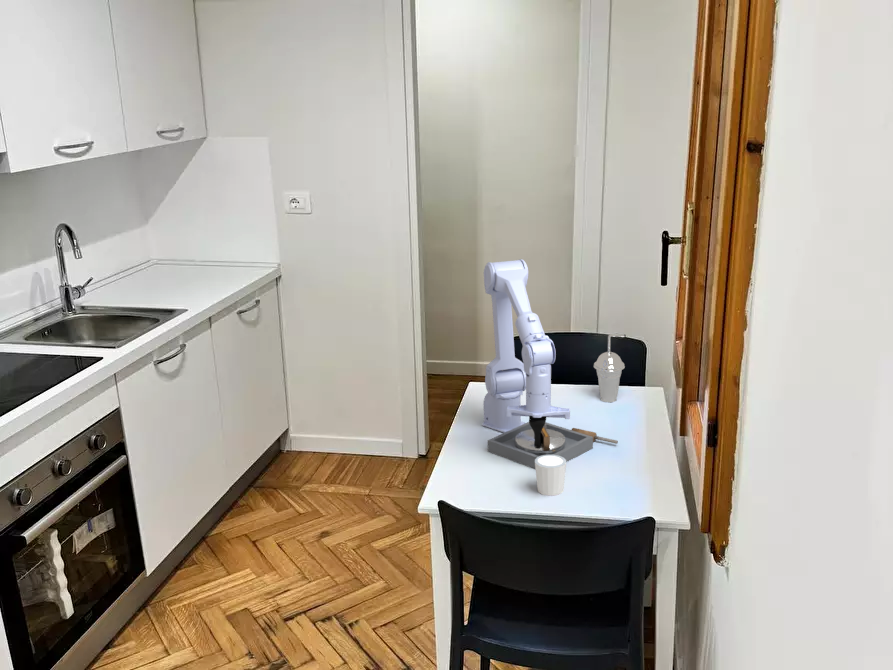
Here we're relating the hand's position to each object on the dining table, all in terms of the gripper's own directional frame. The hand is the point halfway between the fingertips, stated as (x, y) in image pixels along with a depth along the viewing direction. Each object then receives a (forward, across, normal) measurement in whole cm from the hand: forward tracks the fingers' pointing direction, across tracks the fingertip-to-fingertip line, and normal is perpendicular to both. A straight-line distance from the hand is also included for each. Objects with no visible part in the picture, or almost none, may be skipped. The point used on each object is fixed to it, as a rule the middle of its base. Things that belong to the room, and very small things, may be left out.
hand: (538, 445), depth 196 cm
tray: (+4, 0, +5) cm, 6 cm away
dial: (+2, 0, +5) cm, 5 cm away
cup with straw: (+4, +16, +42) cm, 45 cm away
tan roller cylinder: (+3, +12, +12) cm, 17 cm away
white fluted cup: (+4, +4, -16) cm, 16 cm away
